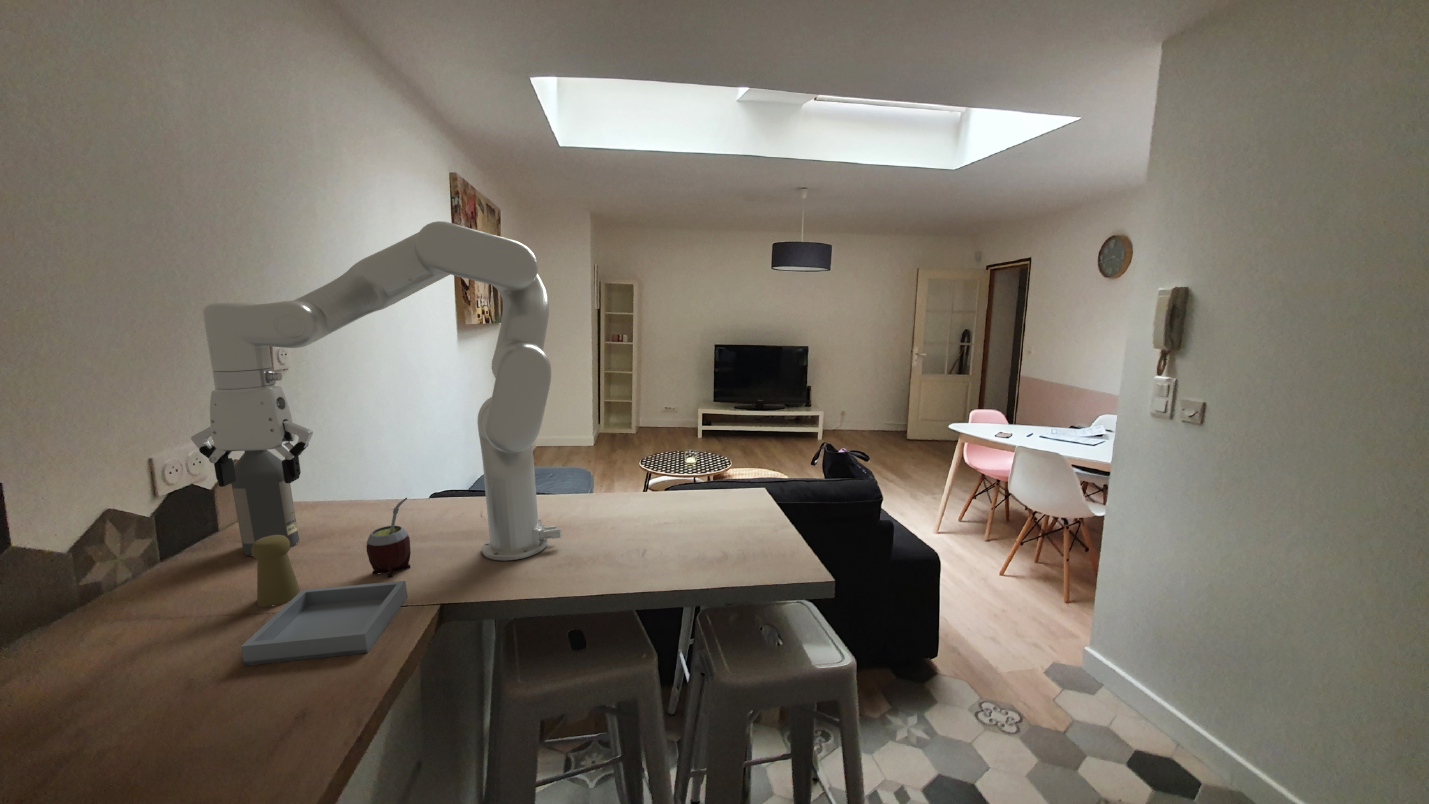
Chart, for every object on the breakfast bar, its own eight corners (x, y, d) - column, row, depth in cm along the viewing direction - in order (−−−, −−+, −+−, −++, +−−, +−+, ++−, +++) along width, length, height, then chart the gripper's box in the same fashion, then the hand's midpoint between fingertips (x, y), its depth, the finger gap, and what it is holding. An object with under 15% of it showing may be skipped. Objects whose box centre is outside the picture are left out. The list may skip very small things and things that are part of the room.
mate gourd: (373, 566, 110) (363, 491, 108) (419, 558, 113) (410, 485, 111) (367, 583, 103) (356, 504, 101) (416, 575, 106) (407, 497, 104)
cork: (277, 608, 96) (267, 546, 94) (247, 605, 97) (236, 544, 95) (309, 590, 101) (300, 531, 99) (281, 587, 103) (271, 529, 101)
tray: (407, 597, 99) (405, 580, 98) (367, 653, 83) (364, 634, 83) (305, 606, 96) (302, 589, 96) (244, 665, 81) (240, 646, 80)
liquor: (244, 560, 114) (218, 411, 108) (242, 545, 121) (217, 405, 115) (300, 546, 120) (278, 405, 114) (295, 533, 127) (274, 399, 121)
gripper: (315, 375, 97) (328, 473, 100) (201, 378, 95) (217, 478, 98) (290, 382, 90) (305, 486, 93) (165, 385, 87) (184, 493, 90)
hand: (260, 482), depth 95 cm, fingers open, 9 cm apart
